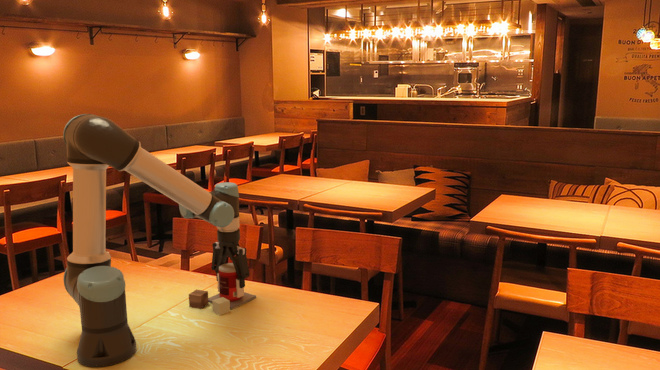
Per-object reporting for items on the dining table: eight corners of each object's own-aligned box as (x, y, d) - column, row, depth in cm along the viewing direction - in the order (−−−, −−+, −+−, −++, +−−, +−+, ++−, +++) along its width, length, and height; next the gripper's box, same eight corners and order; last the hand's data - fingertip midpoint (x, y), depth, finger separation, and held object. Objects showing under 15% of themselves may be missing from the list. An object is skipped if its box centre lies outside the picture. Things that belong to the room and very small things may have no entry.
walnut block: (201, 309, 183) (200, 296, 182) (189, 307, 184) (188, 294, 183) (208, 303, 187) (207, 291, 186) (197, 302, 188) (196, 289, 188)
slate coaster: (231, 309, 182) (231, 307, 182) (205, 301, 189) (205, 299, 188) (256, 297, 191) (256, 295, 191) (231, 290, 198) (231, 288, 198)
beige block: (219, 315, 178) (219, 303, 177) (212, 312, 180) (212, 300, 180) (230, 312, 180) (229, 300, 179) (223, 308, 183) (222, 297, 182)
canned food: (245, 293, 193) (244, 263, 191) (239, 302, 186) (238, 271, 183) (223, 292, 194) (222, 262, 192) (216, 301, 186) (215, 270, 184)
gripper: (259, 231, 182) (261, 296, 187) (214, 222, 194) (217, 283, 199) (243, 236, 176) (245, 304, 181) (198, 226, 188) (201, 290, 193)
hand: (230, 293), depth 190 cm, fingers open, 8 cm apart
